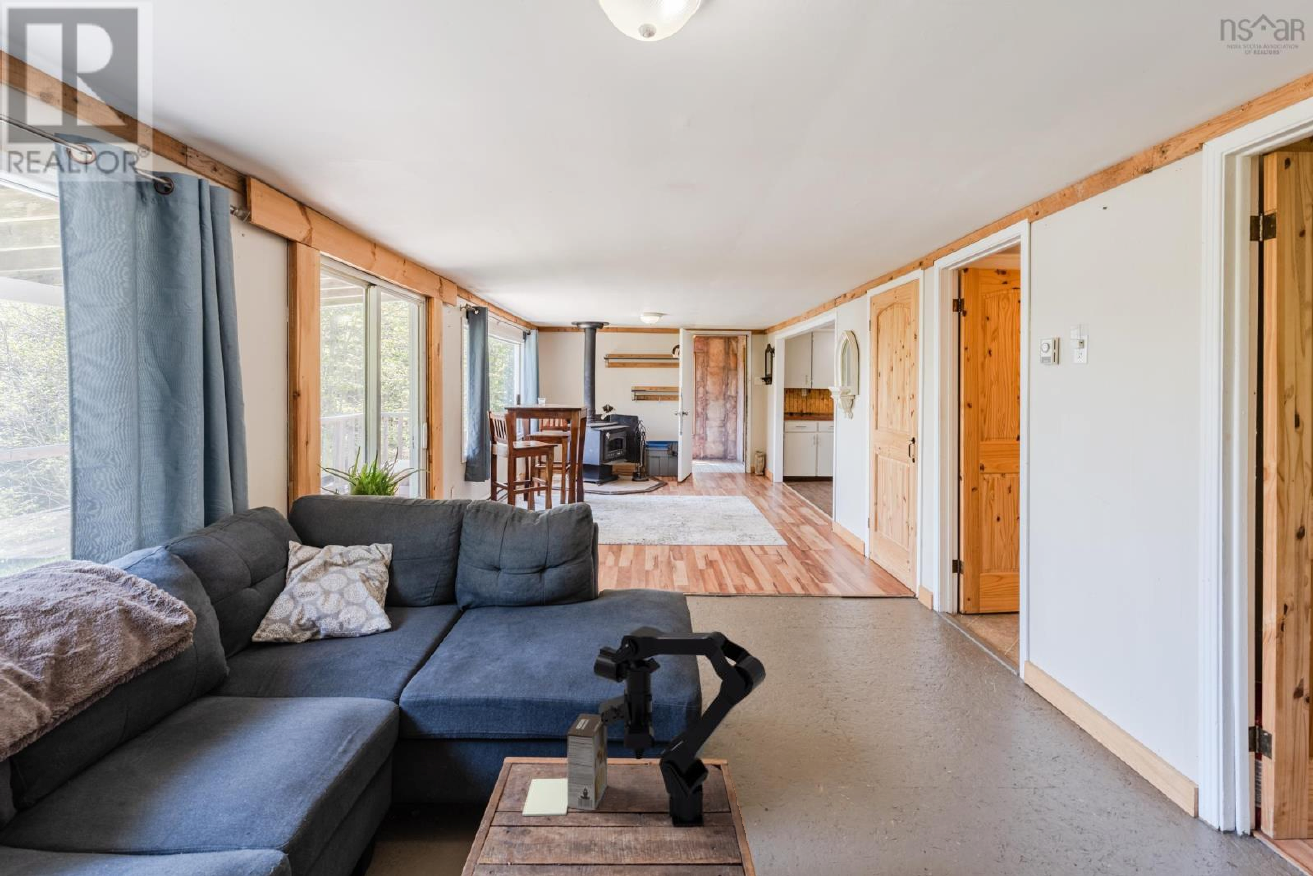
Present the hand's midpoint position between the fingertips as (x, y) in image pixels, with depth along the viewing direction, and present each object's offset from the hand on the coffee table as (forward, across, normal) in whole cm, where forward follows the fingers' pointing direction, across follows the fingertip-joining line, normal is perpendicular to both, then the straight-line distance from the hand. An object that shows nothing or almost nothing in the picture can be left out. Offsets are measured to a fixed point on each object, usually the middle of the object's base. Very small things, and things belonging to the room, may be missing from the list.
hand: (638, 758), depth 128 cm
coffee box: (+8, 0, -11) cm, 14 cm away
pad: (+8, 0, -20) cm, 21 cm away
